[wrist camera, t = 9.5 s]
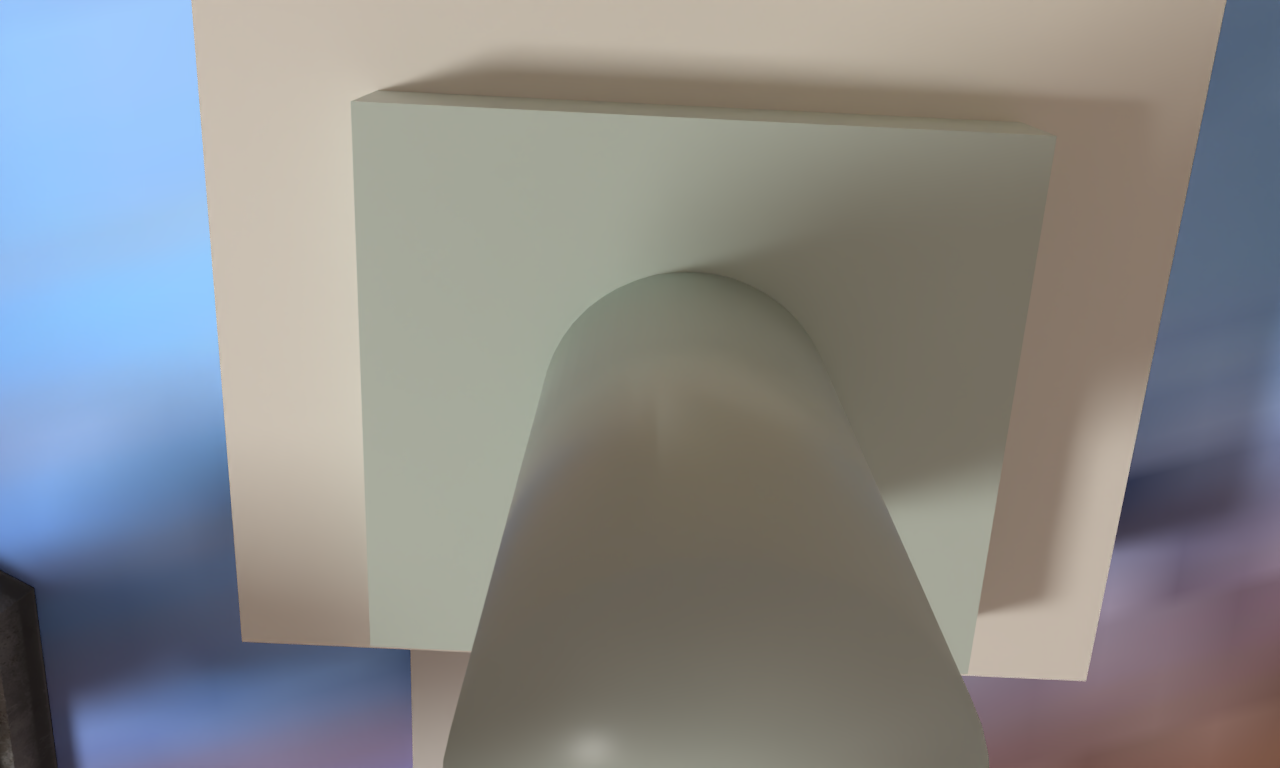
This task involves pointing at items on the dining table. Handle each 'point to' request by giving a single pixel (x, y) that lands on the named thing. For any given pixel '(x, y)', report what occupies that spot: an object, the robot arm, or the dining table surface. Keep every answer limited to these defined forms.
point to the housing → (712, 77)
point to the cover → (689, 420)
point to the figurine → (22, 682)
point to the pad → (434, 702)
